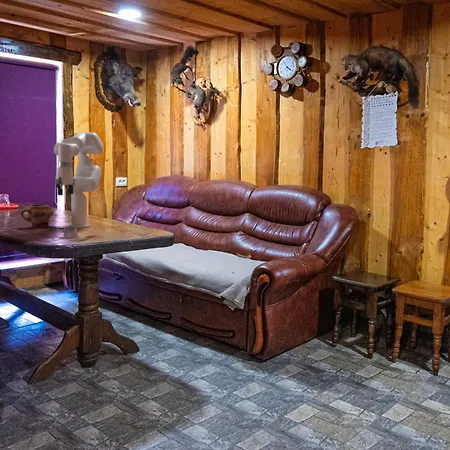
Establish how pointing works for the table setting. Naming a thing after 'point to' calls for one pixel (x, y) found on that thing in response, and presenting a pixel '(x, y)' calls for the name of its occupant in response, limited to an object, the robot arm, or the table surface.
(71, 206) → the robot arm
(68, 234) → the saucepan
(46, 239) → the table surface
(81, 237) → the spatula
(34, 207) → the brown ceramic pot
